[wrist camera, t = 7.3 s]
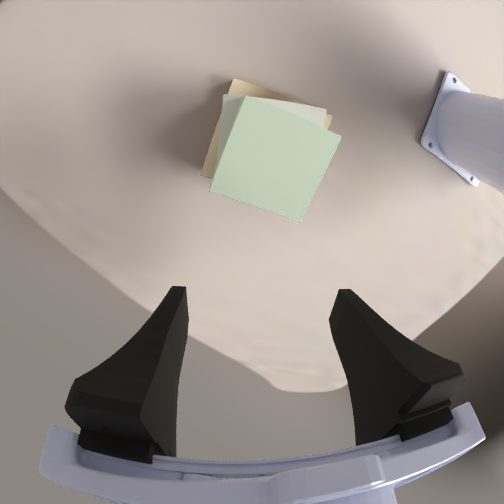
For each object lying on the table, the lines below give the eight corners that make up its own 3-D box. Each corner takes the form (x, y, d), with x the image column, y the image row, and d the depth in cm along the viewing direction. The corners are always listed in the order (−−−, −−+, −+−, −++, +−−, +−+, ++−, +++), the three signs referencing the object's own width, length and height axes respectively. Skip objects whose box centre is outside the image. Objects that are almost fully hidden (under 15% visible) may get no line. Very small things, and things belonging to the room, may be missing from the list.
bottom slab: (323, 113, 18) (333, 116, 17) (289, 194, 22) (295, 204, 20) (233, 80, 17) (233, 78, 15) (203, 167, 20) (200, 175, 18)
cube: (314, 125, 15) (341, 136, 11) (284, 191, 17) (300, 222, 13) (242, 96, 14) (245, 95, 10) (215, 167, 16) (208, 191, 12)
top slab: (316, 107, 16) (326, 109, 14) (301, 190, 19) (309, 201, 17) (224, 94, 16) (223, 94, 14) (216, 181, 19) (214, 192, 17)
